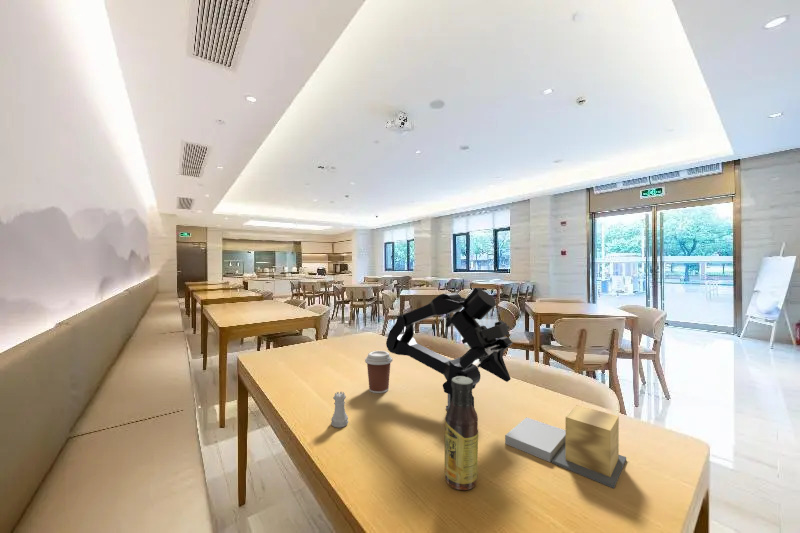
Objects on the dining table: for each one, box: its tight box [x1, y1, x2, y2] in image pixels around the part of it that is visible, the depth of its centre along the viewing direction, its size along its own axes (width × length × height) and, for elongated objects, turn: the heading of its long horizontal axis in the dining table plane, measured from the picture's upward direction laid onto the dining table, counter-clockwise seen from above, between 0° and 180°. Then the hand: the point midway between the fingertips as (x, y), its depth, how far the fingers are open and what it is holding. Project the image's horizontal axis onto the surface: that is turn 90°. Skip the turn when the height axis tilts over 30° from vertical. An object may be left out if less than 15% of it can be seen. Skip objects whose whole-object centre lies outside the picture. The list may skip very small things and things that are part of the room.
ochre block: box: [565, 404, 620, 477], centre depth 67 cm, size 8×8×9 cm
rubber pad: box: [551, 443, 627, 489], centre depth 67 cm, size 11×12×1 cm
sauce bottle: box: [444, 376, 479, 491], centre depth 61 cm, size 6×6×20 cm
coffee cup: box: [364, 350, 393, 394], centre depth 107 cm, size 9×9×12 cm
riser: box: [504, 417, 566, 463], centre depth 75 cm, size 10×12×2 cm
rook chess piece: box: [330, 391, 349, 429], centre depth 84 cm, size 4×4×8 cm
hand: (508, 380), depth 80 cm, fingers closed
